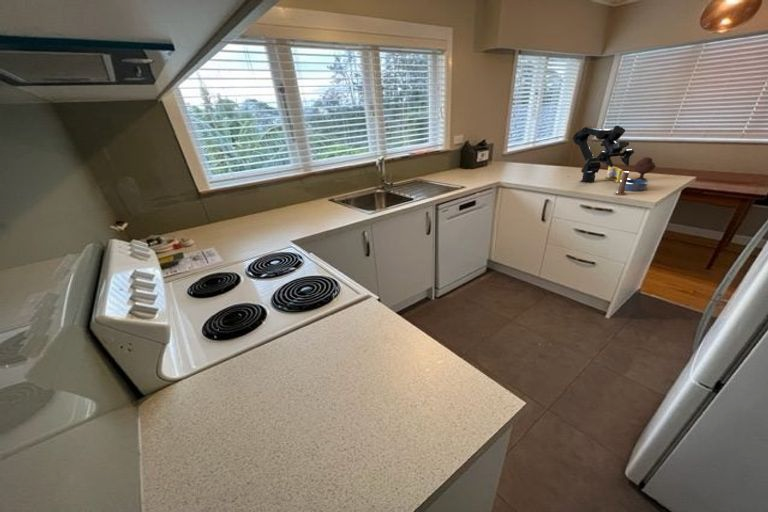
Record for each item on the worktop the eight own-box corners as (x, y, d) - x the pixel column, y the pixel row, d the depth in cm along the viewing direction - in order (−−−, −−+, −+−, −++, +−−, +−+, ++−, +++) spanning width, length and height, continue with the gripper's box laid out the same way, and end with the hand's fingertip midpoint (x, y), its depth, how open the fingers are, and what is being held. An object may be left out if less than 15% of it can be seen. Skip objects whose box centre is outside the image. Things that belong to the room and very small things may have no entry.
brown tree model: (655, 180, 195) (663, 157, 188) (638, 182, 195) (644, 158, 189) (643, 177, 204) (650, 154, 197) (626, 178, 205) (632, 156, 198)
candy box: (605, 177, 213) (608, 165, 209) (609, 177, 213) (612, 165, 209) (616, 182, 199) (619, 169, 195) (620, 182, 198) (623, 169, 195)
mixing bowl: (613, 188, 186) (615, 181, 184) (626, 185, 191) (628, 178, 189) (638, 192, 175) (640, 185, 173) (650, 188, 180) (653, 181, 178)
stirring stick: (614, 193, 177) (620, 171, 171) (618, 192, 178) (624, 170, 173) (622, 195, 173) (628, 172, 167) (626, 194, 175) (633, 171, 169)
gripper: (603, 137, 176) (613, 158, 170) (635, 134, 175) (646, 155, 169) (592, 151, 186) (601, 170, 180) (622, 148, 185) (632, 168, 179)
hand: (620, 166), depth 177 cm, fingers open, 9 cm apart
